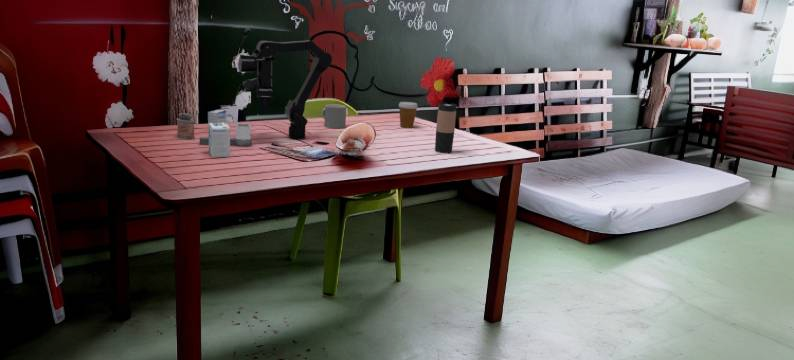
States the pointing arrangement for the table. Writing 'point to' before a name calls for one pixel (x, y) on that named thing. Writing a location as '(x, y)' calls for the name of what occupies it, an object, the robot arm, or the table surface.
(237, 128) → the socket
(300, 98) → the robot arm
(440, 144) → the travel mug
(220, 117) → the medicine box
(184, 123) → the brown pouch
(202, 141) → the ratchet
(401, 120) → the disposable coffee cup
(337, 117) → the coffee mug
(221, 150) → the light bulb box
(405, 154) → the table surface
